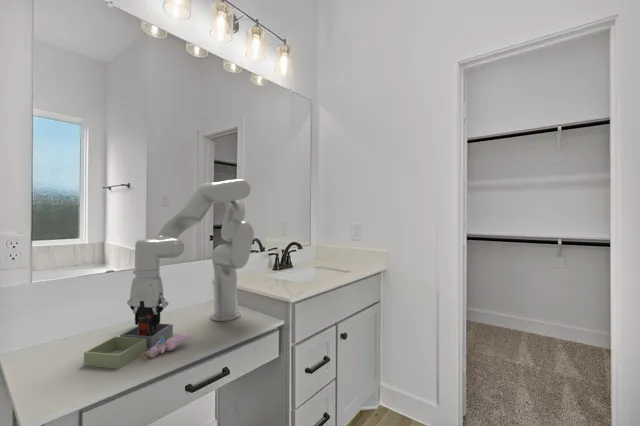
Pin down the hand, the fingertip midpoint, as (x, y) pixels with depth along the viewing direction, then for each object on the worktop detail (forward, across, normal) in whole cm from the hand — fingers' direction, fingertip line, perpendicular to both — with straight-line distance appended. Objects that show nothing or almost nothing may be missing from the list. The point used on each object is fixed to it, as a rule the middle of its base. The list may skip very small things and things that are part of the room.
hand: (147, 323), depth 109 cm
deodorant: (+6, 0, 0) cm, 6 cm away
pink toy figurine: (+6, +12, -6) cm, 15 cm away
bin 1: (+6, -1, -13) cm, 14 cm away
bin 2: (+6, 0, 0) cm, 6 cm away
